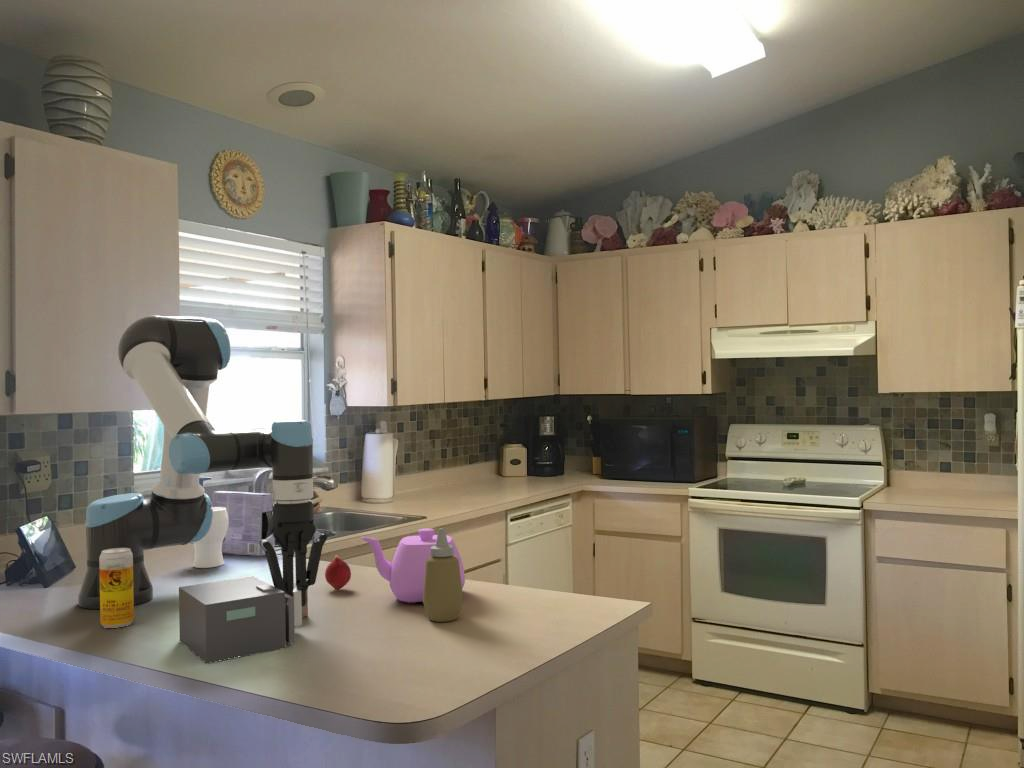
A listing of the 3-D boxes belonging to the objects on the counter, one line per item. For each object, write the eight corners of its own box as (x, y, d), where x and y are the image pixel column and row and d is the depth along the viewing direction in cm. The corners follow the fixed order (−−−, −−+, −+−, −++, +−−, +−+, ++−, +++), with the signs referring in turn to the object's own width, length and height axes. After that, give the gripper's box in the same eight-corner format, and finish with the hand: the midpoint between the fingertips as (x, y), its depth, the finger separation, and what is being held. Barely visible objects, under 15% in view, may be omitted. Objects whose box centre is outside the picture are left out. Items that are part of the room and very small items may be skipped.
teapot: (462, 583, 202) (461, 519, 202) (467, 605, 181) (465, 534, 181) (365, 587, 200) (364, 522, 200) (358, 610, 179) (356, 538, 179)
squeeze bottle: (469, 614, 173) (467, 526, 173) (454, 625, 165) (452, 532, 166) (433, 612, 176) (431, 524, 176) (416, 622, 168) (414, 531, 168)
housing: (179, 640, 159) (178, 585, 159) (254, 627, 167) (253, 574, 167) (206, 663, 145) (205, 602, 145) (286, 648, 153) (285, 590, 153)
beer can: (101, 631, 166) (99, 554, 167) (100, 623, 172) (98, 549, 172) (135, 626, 169) (133, 551, 169) (132, 619, 175) (131, 546, 175)
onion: (354, 587, 200) (353, 553, 200) (346, 593, 194) (346, 557, 194) (329, 587, 200) (329, 553, 200) (322, 593, 195) (321, 558, 195)
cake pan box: (275, 553, 244) (274, 491, 244) (264, 557, 239) (263, 494, 239) (222, 550, 251) (221, 490, 251) (210, 553, 246) (209, 492, 247)
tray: (190, 636, 160) (189, 592, 160) (263, 623, 168) (262, 581, 168) (216, 658, 146) (216, 610, 146) (294, 642, 154) (293, 597, 154)
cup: (178, 568, 225) (177, 511, 226) (204, 560, 236) (203, 506, 236) (213, 570, 222) (212, 512, 222) (237, 562, 233) (236, 506, 233)
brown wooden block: (275, 615, 176) (274, 586, 176) (298, 611, 179) (298, 582, 179) (284, 620, 172) (283, 590, 172) (308, 616, 174) (307, 586, 174)
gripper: (266, 506, 156) (269, 634, 156) (333, 499, 164) (335, 622, 164) (252, 502, 162) (255, 626, 162) (317, 495, 170) (319, 614, 170)
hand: (295, 624), depth 163 cm, fingers closed
